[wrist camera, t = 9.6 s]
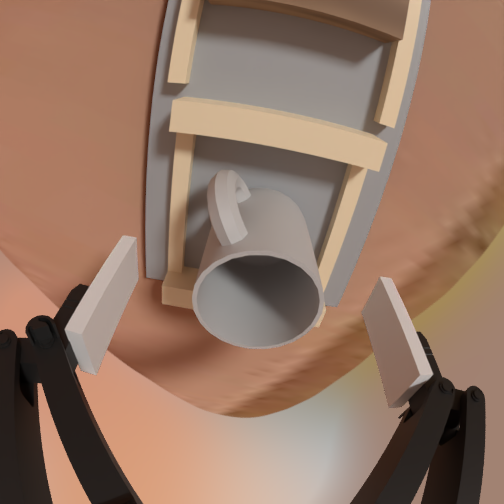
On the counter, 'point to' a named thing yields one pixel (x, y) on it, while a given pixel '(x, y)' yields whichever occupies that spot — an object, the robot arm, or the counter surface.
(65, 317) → the robot arm
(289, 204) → the cup
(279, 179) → the jig
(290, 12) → the brown rounded bar
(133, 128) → the counter surface
